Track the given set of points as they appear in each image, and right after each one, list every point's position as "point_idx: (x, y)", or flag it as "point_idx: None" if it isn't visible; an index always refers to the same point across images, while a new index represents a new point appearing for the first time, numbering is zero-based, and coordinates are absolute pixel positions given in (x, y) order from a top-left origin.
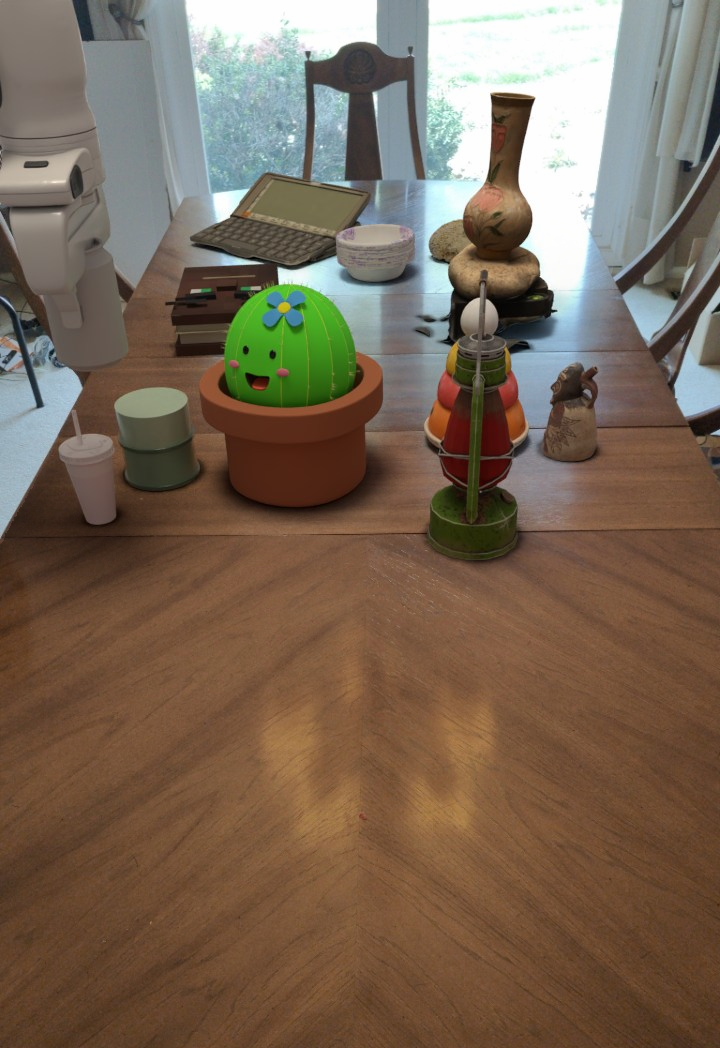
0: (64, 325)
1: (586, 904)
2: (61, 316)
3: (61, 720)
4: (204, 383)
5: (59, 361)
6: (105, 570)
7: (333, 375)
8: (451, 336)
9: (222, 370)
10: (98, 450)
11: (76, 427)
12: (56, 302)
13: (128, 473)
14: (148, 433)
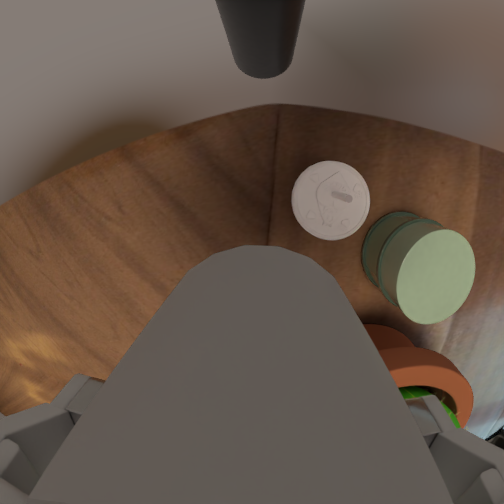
0: (75, 376)
1: (19, 411)
2: (60, 391)
3: (35, 219)
4: (405, 374)
5: (199, 263)
6: (203, 214)
7: None
8: (498, 435)
9: (434, 384)
10: (315, 221)
11: (337, 196)
12: (9, 419)
13: (389, 219)
14: (388, 271)
